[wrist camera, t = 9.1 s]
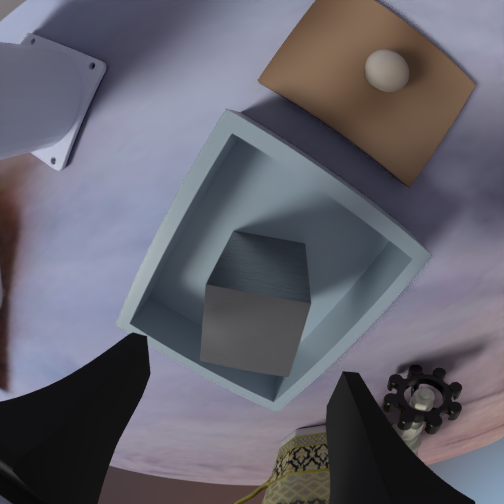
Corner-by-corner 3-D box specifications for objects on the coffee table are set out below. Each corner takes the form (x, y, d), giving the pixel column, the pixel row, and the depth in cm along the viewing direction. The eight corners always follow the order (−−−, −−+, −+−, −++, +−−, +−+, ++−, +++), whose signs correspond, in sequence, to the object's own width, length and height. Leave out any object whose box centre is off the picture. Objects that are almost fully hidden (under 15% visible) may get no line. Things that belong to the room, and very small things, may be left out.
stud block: (259, 82, 15) (251, 72, 12) (332, -17, 12) (341, -45, 9) (403, 184, 17) (428, 199, 13) (467, 86, 14) (500, 82, 10)
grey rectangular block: (225, 292, 20) (199, 360, 14) (233, 230, 18) (205, 284, 12) (290, 304, 20) (288, 377, 14) (305, 243, 18) (311, 303, 12)
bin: (140, 293, 22) (115, 324, 18) (239, 112, 16) (226, 108, 13) (279, 372, 23) (276, 412, 19) (407, 229, 18) (432, 255, 14)
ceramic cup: (362, 404, 24) (376, 504, 15) (367, 455, 27) (375, 533, 18) (222, 424, 27) (200, 514, 17) (253, 470, 30) (242, 542, 21)
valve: (415, 438, 26) (448, 358, 21) (427, 487, 20) (476, 416, 15) (357, 447, 27) (376, 368, 22) (362, 499, 21) (392, 435, 16)
